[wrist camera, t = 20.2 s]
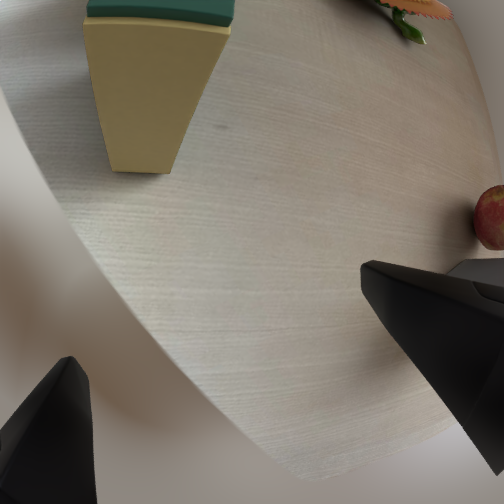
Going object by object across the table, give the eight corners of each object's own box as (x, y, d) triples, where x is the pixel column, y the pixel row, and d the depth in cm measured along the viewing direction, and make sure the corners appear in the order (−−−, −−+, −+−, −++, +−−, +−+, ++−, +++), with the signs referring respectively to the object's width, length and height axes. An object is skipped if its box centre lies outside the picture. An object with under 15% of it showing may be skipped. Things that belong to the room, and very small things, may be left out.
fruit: (456, 239, 29) (518, 234, 21) (463, 178, 30) (519, 166, 22) (484, 264, 31) (538, 264, 23) (491, 209, 32) (540, 202, 25)
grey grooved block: (435, 343, 27) (513, 359, 18) (427, 288, 27) (512, 293, 18) (472, 308, 30) (539, 315, 21) (465, 258, 29) (537, 256, 20)
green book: (169, 175, 19) (235, 25, 6) (112, 173, 18) (80, 13, 5) (180, 67, 19) (244, -95, 6) (130, 64, 18) (154, -107, 5)
